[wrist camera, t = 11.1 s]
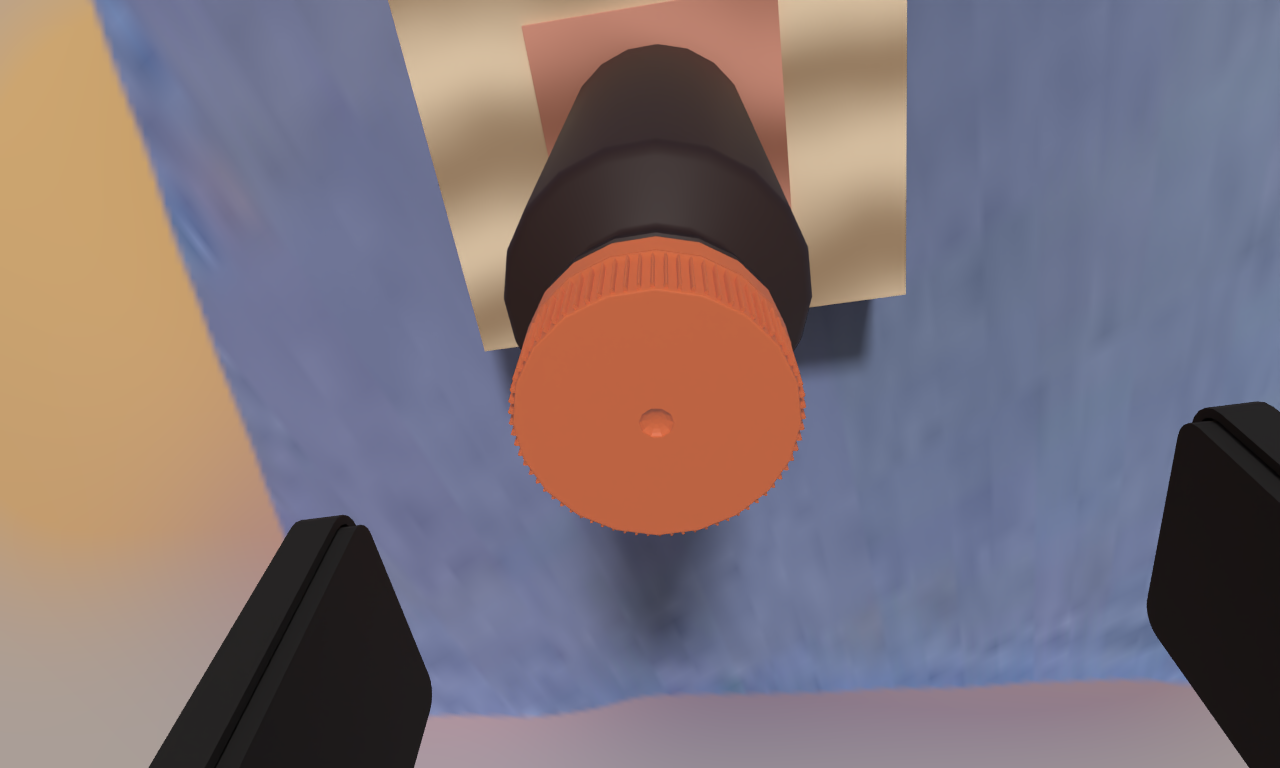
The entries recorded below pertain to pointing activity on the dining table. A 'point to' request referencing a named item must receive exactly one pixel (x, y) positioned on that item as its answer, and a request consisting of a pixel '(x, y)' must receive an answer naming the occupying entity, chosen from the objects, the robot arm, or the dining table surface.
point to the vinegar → (657, 303)
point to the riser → (715, 29)
